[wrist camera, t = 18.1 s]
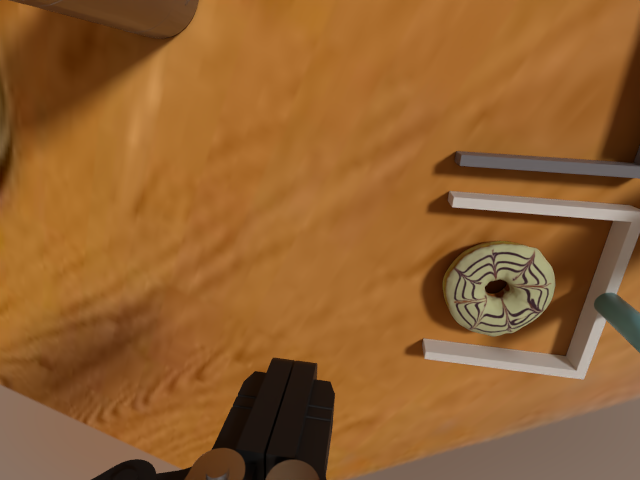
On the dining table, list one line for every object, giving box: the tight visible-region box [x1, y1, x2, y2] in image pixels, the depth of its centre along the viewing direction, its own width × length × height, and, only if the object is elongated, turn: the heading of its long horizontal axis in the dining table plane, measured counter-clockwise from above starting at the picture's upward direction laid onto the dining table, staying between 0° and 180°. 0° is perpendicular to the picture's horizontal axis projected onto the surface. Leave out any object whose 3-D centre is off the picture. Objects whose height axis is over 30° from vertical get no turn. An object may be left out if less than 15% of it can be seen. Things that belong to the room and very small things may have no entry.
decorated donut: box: [443, 241, 555, 336], centre depth 39 cm, size 10×11×4 cm
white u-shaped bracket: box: [422, 191, 640, 379], centre depth 35 cm, size 18×19×12 cm
